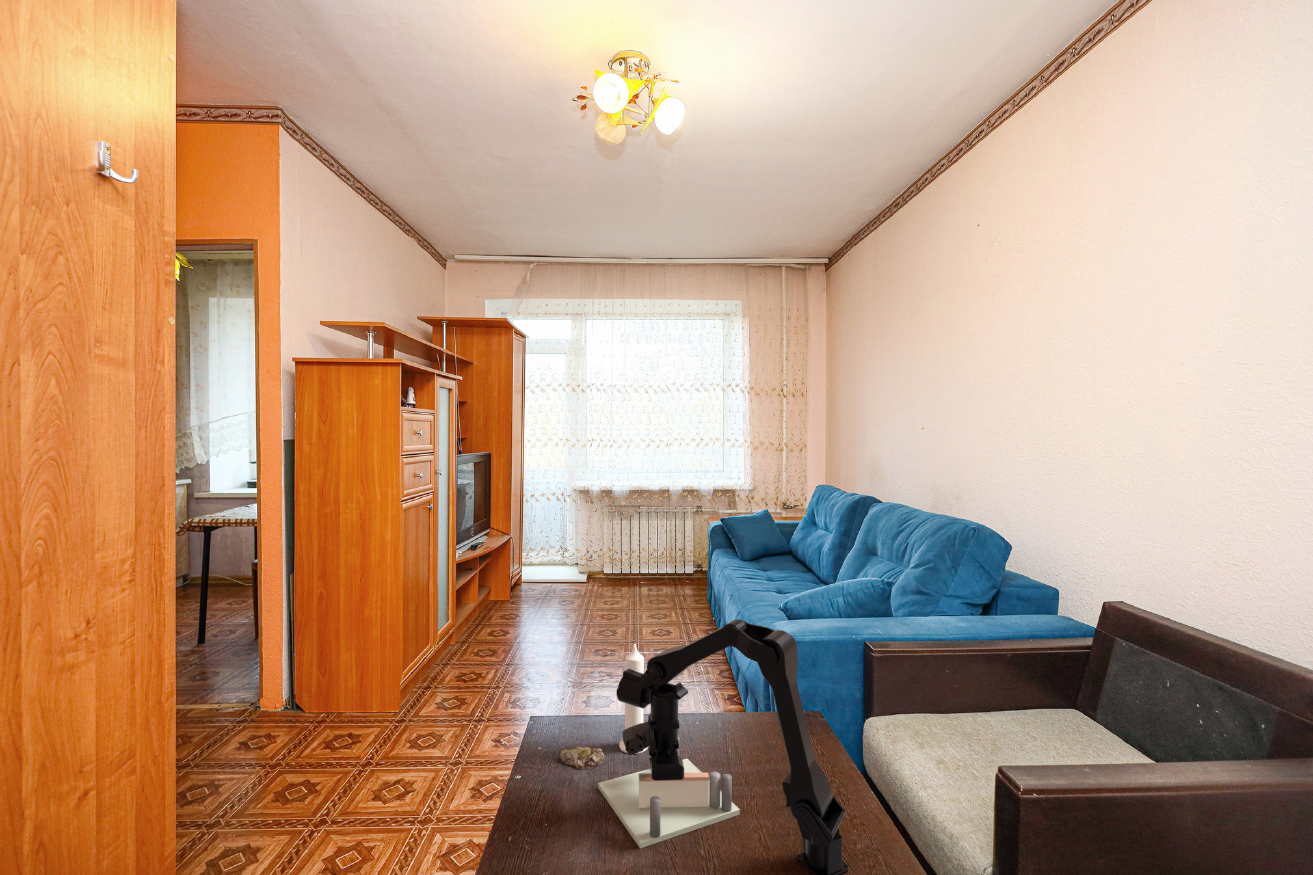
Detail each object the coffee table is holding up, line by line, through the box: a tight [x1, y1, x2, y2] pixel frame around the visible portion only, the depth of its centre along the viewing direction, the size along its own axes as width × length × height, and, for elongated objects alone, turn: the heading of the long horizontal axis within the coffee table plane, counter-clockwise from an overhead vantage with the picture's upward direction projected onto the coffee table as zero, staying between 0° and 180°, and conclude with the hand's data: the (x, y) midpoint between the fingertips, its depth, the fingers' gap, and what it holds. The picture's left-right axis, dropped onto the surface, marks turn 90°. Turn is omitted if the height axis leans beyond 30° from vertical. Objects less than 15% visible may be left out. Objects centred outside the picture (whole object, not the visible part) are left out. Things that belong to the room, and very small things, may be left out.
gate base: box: [597, 735, 741, 849], centre depth 122 cm, size 21×22×8 cm
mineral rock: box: [559, 745, 605, 770], centre depth 138 cm, size 11×4×8 cm
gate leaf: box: [639, 771, 721, 808], centre depth 119 cm, size 16×2×6 cm, turn 92°
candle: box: [619, 643, 649, 755], centre depth 144 cm, size 7×7×25 cm
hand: (663, 788), depth 122 cm, fingers closed
